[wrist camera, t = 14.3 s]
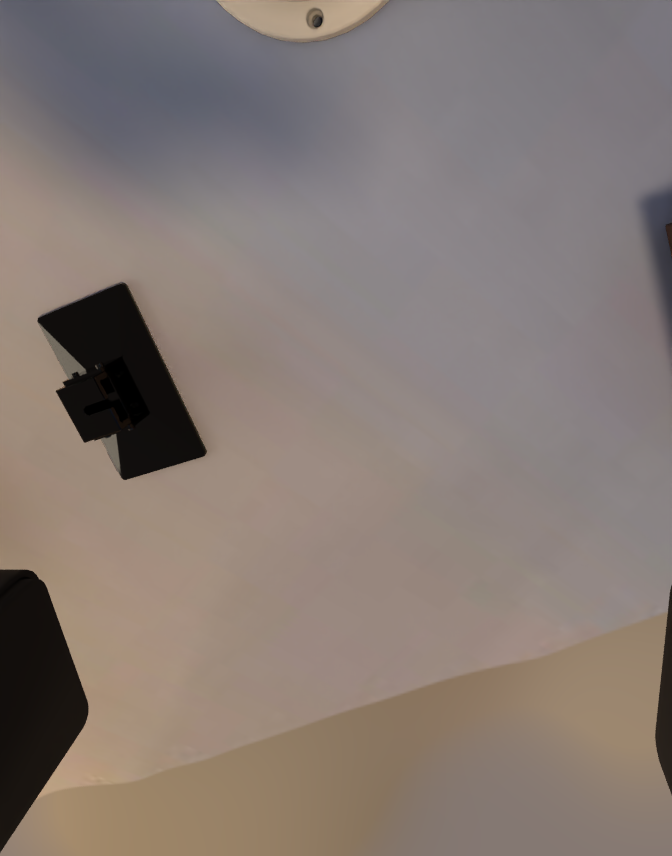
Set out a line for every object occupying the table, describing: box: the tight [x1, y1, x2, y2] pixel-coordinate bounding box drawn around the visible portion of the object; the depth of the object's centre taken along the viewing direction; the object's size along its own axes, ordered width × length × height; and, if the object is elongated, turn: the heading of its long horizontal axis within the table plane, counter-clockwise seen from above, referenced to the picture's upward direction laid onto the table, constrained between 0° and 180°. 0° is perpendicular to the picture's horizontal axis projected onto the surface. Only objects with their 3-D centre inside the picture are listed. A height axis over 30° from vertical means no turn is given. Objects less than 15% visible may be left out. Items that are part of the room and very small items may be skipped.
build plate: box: [38, 283, 207, 480], centre depth 38 cm, size 12×7×5 cm, turn 21°
